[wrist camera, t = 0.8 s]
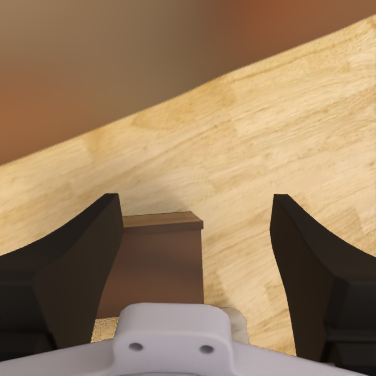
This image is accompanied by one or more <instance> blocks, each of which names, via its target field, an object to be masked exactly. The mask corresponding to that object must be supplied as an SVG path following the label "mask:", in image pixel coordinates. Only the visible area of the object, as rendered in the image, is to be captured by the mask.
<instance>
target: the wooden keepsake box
mask: <svg viewBox="0 0 376 376" xmlns="http://www.w3.org/2000/svg"><path fill="white" fill-rule="evenodd" d="M122 219H123V225H124V231H123V236H122V240H121V244H120V248H119V250H118V253H117V256H116V258H115V261H114V263H113V266H112V268H111V271H110V274H109V276H108V279H107V281H106V284H105V287H104V290H103V293H102V296H101V300H100V304H99V308H98V311H97V316H96V319H102V318H110V317H118V316H120V313H121V311H122V310H123V309H125V308H126V307H127V306H129V305H131V304H137V303H143V302H145V303H183V304H204V294H203V270H202V247H201V229H203V221H202V220H201V219H200V218H198V217H197V216H196V215H195V214H193V213H192V212H191V211H188V212H175V213H162V214H148V215H135V216H122Z"/></svg>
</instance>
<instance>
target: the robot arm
mask: <svg viewBox="0 0 376 376" xmlns="http://www.w3.org/2000/svg"><path fill="white" fill-rule="evenodd" d="M123 231H124V225H123V219H122V213H121V207H120V200H119V194H118V193H106V194H104V195H103V196H101V197H100V198H99V199H98V200H96V201H95V202H94V203H93V204H91V205H90V206H89V207H88V208H86V209H85V210H84V211H83V212H81V213H80V214H79V215H77V216H76V217H75V218H73V219H72V220H70V221H69V222H67V223H66V224H65V225H63V226H62V227H60V228H59V229H57V230H55V231H54V232H52V233H50V234H48V235H47V236H45V237H43V238H41V239H39V240H37V241H35V242H33V243H31V244H29V245H27V246H24V247H22V248H20V249H17V250H15V251H12V252H10V253H7V254H4V255H2V256H0V376H376V257H374V256H371V255H369V254H367V253H365V252H363V251H361V250H360V249H358V248H356V247H354V246H352V245H350V244H349V243H347V242H345V241H344V240H342V239H341V238H339V237H338V236H336V235H334V234H333V233H332V232H330V231H329V230H327V229H326V228H325V227H324V226H322V225H321V224H320V223H318V222H317V221H316V220H315V219H314V218H313V217H311V216H310V215H309V214H308V213H307V212H306V211H305V210H304V209H303V208H302V207H301V206H299V205H298V204H297V203H296V202H295V201H294V200H293V199H292V198H291V197H290V196H289V195H288V194H274V198H273V206H272V215H271V223H270V236H271V243H272V249H273V252H274V255H275V259H276V262H277V265H278V269H279V272H280V275H281V279H282V282H283V285H284V288H285V292H286V296H287V301H288V307H289V312H290V317H291V323H292V329H293V335H294V342H295V348H296V355H297V357H296V356H292V355H288V354H285V353H281V352H277V351H273V350H269V349H266V348H262V347H258V346H254V345H250V344H247V343H243V342H239V341H235V340H232V333H231V322H230V320H229V317H228V314H226V313H225V312H224V311H222V310H221V309H219V308H218V307H216V306H211V305H206V304H183V303H145V302H143V303H137V304H131V305H129V306H127V307H126V308H125V309H123V310H122V311H121V313H120V316H119V320H118V324H117V327H116V331H115V334H114V338H112V339H107V340H102V341H98V342H93V343H90V342H91V337H92V332H93V328H94V324H95V320H96V316H97V311H98V308H99V304H100V300H101V296H102V293H103V290H104V287H105V284H106V281H107V279H108V276H109V274H110V271H111V268H112V266H113V263H114V261H115V258H116V256H117V253H118V250H119V248H120V244H121V240H122V236H123Z"/></svg>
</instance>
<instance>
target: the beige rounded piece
mask: <svg viewBox="0 0 376 376" xmlns="http://www.w3.org/2000/svg"><path fill="white" fill-rule="evenodd" d="M220 309H221V310H222V311H224V312H225V313H226V314H228V317H229V320H230V322H231V333H232V340H235V341H239V342H243V343H247V344H249V334H248V332H247V320H246V318H245V316H244V315H243V314H242V313H241V312H240V311H238V310H236V309H234V308H220Z"/></svg>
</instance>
